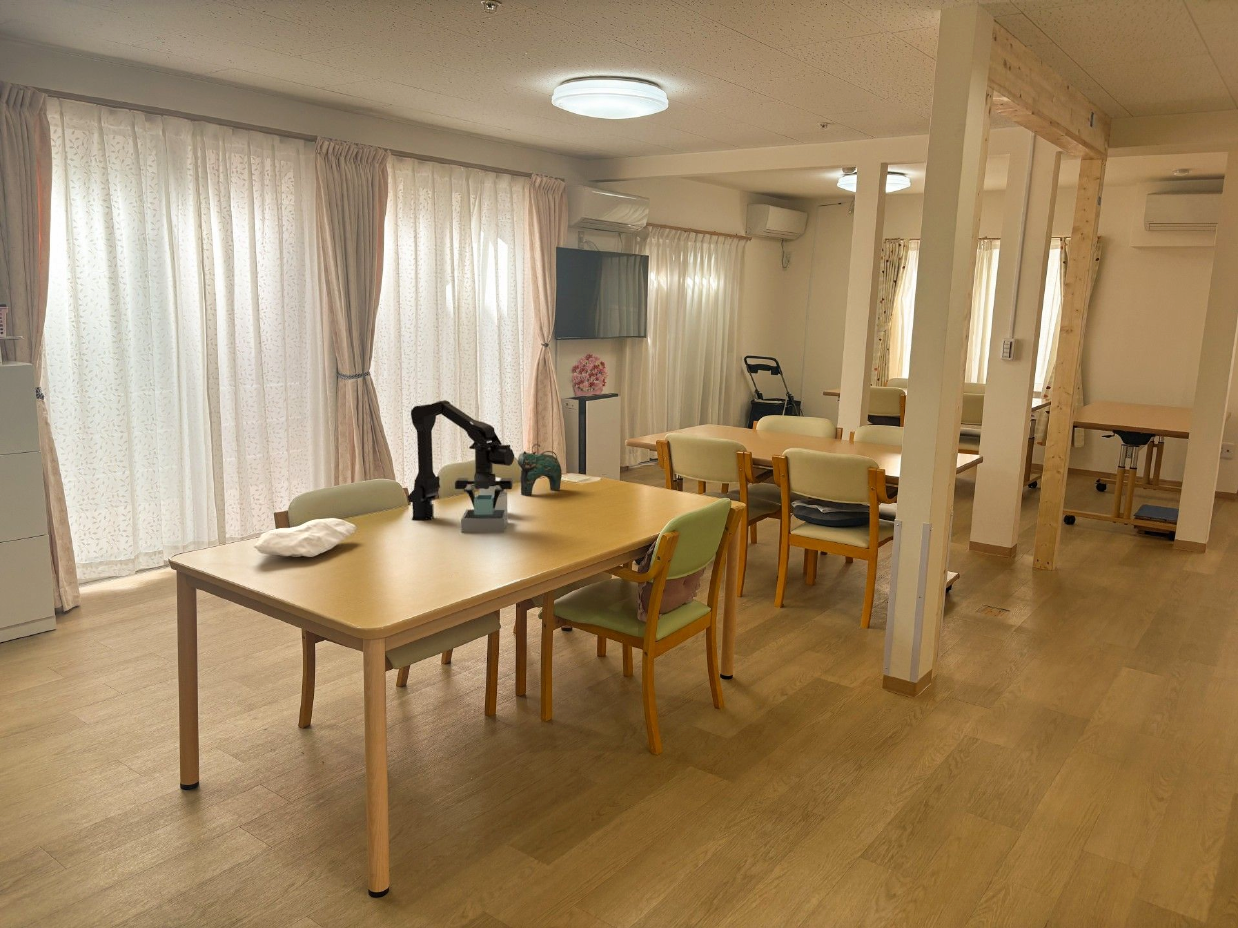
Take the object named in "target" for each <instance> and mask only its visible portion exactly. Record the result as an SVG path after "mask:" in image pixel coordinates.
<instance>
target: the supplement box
mask: <svg viewBox="0 0 1238 928" xmlns="http://www.w3.org/2000/svg"><path fill="white" fill-rule="evenodd" d="M501 478H502V477H496V481H500V479H501ZM495 488H496V487H495V486H490V487H489V489H478V495H494V493H495ZM495 509H507V510H508V489H504V491H503V492H500V494H499V496H498V499H497V503H496V506H495Z"/></svg>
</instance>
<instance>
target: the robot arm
mask: <svg viewBox="0 0 1238 928" xmlns="http://www.w3.org/2000/svg"><path fill="white" fill-rule="evenodd" d="M439 415H441V416H442V417H443V416H444V417H445V418H446V419H447V420H449V421H451V422H452V423H453V424H455V425H456V426H458V427H460V428H461V429H462V430H464V431H465V432H466V434H467V436H468V438H470V439H471V440H472V441H473V443H472V444H471V445H469V447H468V449H470V450H474V466H475V468H474V476H473V479H474V480H469V477H458V478H457V479H456V480H455V481H454V489H455V490H463V492H464V493H465V492H466V494H467V495H468V497H469V498H470V501H471V504H472V506H473V508H474V499H475V497H476V493H475V489H476V490H479V489H489V487H490V486H495V487H496V488H495V493H494V502H493V509H495V506H496V503H497V499H498V496H499V494H500V492H503V491H504V489H507V490H512V489H513V487H514V485H513V484H514V481H513V480H514V479H513V478H511V477H500V478H501V479H500V481H496V473H493V467H494V465H498V466H499V465H500V466H506V467H507V466H509V467H510V466H511V465H513V462H514V461H515V460H514V459H515V454H514V450H513V449H512V448H511V445H510V444H502V441H501V440H500V439H499V437H498V435H497V434H496V433H497V432H495V427H493V425H491V424H489V423H487V422H484V421H480V420H477V419H474V418H472V417H471V416H470V415H468V414H466V413H465V412H464V411H462V410H460V409H459V408H458V407H456V406H455V405H453V404H451V402H450V401H448V400H445V399H444V400H438V401H436V402H433V403H428V404H427V403H426V404H422V405H415V406H414V407H413V408H412V409H411V411H410V416H411V423H412V425H413V427H414V429H415V430H416V440H417V441H416V443H417V464H418V465H417V467H418V468H417V469H418V472H417V474H416V477H415V479H414V484H413V490H412V491H411V492H410V493H409V495H407V500H408V503H411V504H412V517H411V520H412V521H415V520H416V521H417V520H418V521H419V520H420V521H421V520H422V521H423V520H424V521H425V520H428V521H429V520H431V519H432V518H433V517H434V516H435V515H434V514H435V510H434V509H435V506H434V503H433V500H435V499H436V496H437V494H438V493H439V489H441V485H440V475H439V476H436V474H435V472H434V466H433V465H434V464H433V463H434V462H433V435H432V434H433V433H432V432H433V428H434V426H435V425H436V424H435V423H436V420H437V416H439Z"/></svg>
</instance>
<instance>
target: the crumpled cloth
mask: <svg viewBox="0 0 1238 928" xmlns="http://www.w3.org/2000/svg"><path fill="white" fill-rule="evenodd" d="M355 531H356V525H355V524H353V523H351V522H348V521H346V520H344V519H339V518H336V517H335V518H334V517H333V518H332V517H330V518H321V519H320V518H319V519H317V518H316V519H313V520H309V521H306V522H304V523H303V524H301V525H298V526H297V525H296V526H293V527H282V528H281V527H280V528H276V529H271V530H269V531H266V532H264V533H261V534H260V537H259V538H258V541H257V542H256V543H255V544H254V546H253V548H254V549H255V550H257V552H259V553H260V554H263V555H270V556H271V555H272V556H273V555H275V556H282V557H290V556H291V557H293V558H299V557H309V558H310V557H311V558H313V557H315V556H318V555H319V554H322V553H324V552H326V551H328V550H331V549H333V548H335V546H337V545H339V544H340V542H342V541H344V539H346V538H348V537H349V536H351V535H353V534H354V532H355Z"/></svg>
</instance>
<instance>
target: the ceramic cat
mask: <svg viewBox="0 0 1238 928" xmlns="http://www.w3.org/2000/svg"><path fill="white" fill-rule="evenodd" d="M535 446H538V447H539V448H540V447H541V445H540V444H538V443H535V444H533V445H532V447H531V452H526V450H524V451H523V452H521V453H520V454H519V455H518V458H517V464H518V467H519V468H520V469H521V472H520V495H521V496H524V497H529V496H532V494H533V489H534V485H535V483H536V481H537V480H538V478H541V477H546V478H547V479H548V481H549V482H548V483H549V489H550V491H553V492H558V491H560V490H561V483H562V476H563V473H562V467H561V464H560V462H559V459H558V456H557V454H556V453H555V452H554V451H551V450H546V451H543V452H542V453H541V452H540V453H539V454H538V453H537V451H534V450H533V449H534V447H535ZM536 453H537V454H536ZM547 453H552V454H554V455H552V454H547Z"/></svg>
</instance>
